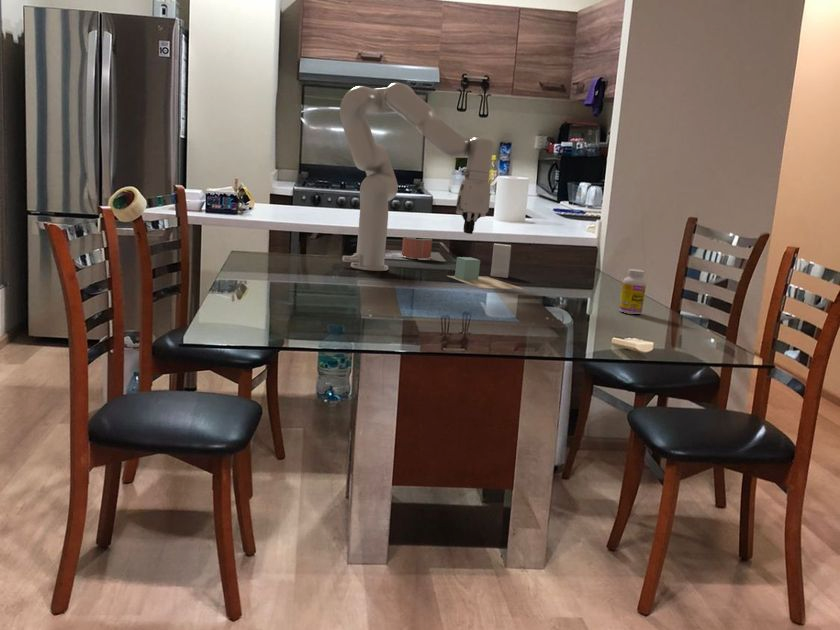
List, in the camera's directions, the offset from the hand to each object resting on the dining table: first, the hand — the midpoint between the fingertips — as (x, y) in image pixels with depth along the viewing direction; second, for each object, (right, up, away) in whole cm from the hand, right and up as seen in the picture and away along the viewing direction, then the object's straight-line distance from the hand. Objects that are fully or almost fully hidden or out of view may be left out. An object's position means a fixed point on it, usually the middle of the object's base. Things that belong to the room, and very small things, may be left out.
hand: (467, 233), depth 287 cm
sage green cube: (0, -15, +1) cm, 15 cm away
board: (+5, -17, -3) cm, 18 cm away
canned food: (-17, -5, +50) cm, 53 cm away
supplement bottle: (+46, -26, -27) cm, 60 cm away
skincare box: (+11, -15, +15) cm, 24 cm away
